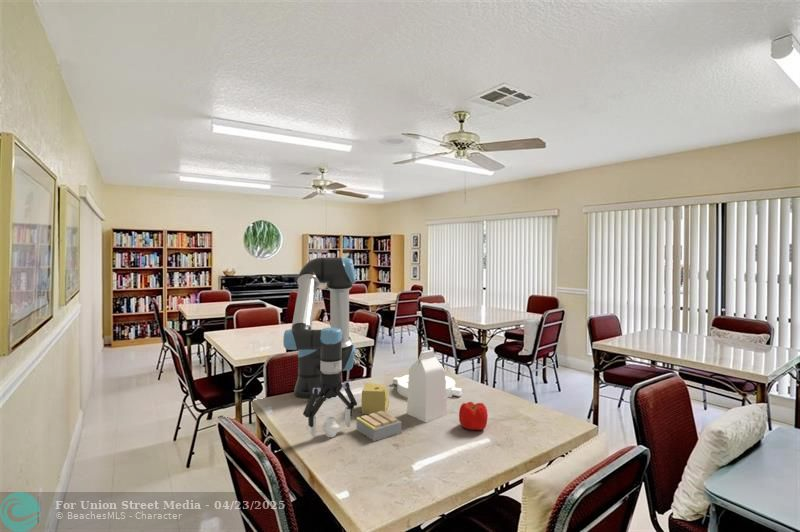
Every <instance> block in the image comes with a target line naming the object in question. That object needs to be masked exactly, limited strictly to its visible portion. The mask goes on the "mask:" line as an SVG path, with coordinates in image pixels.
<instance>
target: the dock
mask: <svg viewBox="0 0 800 532" xmlns="http://www.w3.org/2000/svg"><path fill="white" fill-rule="evenodd" d="M356 429H357V431H358V432H359V431H360V432H359V433H361V434H362V433H363V434H362V435H364V436H365V435H366V436H367V437H366V436H365V437H366V438H368V437H369V438H370V439H369V438H368V439H369V440H371V439H372V440H373V442H377V441H379V439H380V440H384V439H386V437H387V438H389V436H390V437H392V436H396V435H399V434H402V421H401V420H399V419H398V418H395V416H392V415H391V414H389V413H387V412H386V413H385V412H383V411H379V412H377V414H375V413H372V414H363V415H362V416H357V417H356ZM383 438H384V439H383ZM372 440H371V441H372ZM376 440H377V441H376Z"/></svg>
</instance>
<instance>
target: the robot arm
mask: <svg viewBox="0 0 800 532" xmlns="http://www.w3.org/2000/svg"><path fill="white" fill-rule="evenodd" d="M355 274H356V272H355V266H354V262H353V260H352V258H350V257H316V258H313V259H311V260H309V261H308V262H307V263H306V264H305V265H303V267H302V268H301V270H300V271H299V274H298V277H297V281H296V283H297V285H298V289H297V293H296V294H297V295H296V299H295V305H294V306H295V307H294V312H293V319H292V323H291V328H290V329H286V330H285V331H284V332H283V339H282V341H283V347H284V349H285V350H291V351H298V353H297V361H298V362H297V366H298V367H297V380H296V382H295V386H294V390H293V391H294V396H296V397H298V398H302V399H308V400H307V403H306V405H305V408H304V410H303V413H302V415H303V416H304V417H305V418H308V419H307V420H308V424H307V425H308V426H309V427H310V435H311V436H312V437H313V438H315V437H317V417H316V415H317V413H318V411H319V410H320V408H321V406H322V405H323V404H324V402H325V401H327V399H328V400H330V399H333V398H337V397H338V398H339V399H340V401H342V402H343V404H344V405H345V406H346V407H344V426H346V427H348V428H351V417H353V410H354V409H355V407H356V406H357V405H358V402H357V400H356V398H355V396H354V394H353V392H352V390H351V388H350V387H351V386H350V382H348V381H346V380H344V381H343V382H342V380H343V379H342V377H343V376H342V375H343V373H342V372H344V371H350V370H352V369H353V367H354V363H355V362H354V361H355V355H356V345H354V344H353V341H352V340H351V339H350V290H351V289H352V288H353V284H355V283H356V275H355ZM320 284H326V288H327V289H328V290H329V292H330V294H329V298H330V299H329V300H330V302H329V303H330V304H329V306H330V309H329V310H330V313H329V314H330V327H325V328H322V329H312V327H313V320H314V319H313V318H314V312H315V311H314V310H315V305H316V304H315V303H316V295H317V288H318V287H319V286H320ZM342 389H344V391H345V394H346V395H347V397H348V399H349V400H348V399H347V397H345V396H344V394H343V393H342V392H341V390H342Z"/></svg>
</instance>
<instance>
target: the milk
mask: <svg viewBox="0 0 800 532" xmlns="http://www.w3.org/2000/svg"><path fill="white" fill-rule="evenodd" d="M408 375H409V380H408V398H407V400H406V401H407V402H406V415H409V416H411V417H413V418H415V419H418V420H419V421H422V422H424V423H429V422H431V421H434V420H438V419H440V418H443V417H445V416H448V409H447V408H448V405H447V398H446V382H445V376H446V371H445V368H444V366H443V365H442V364H441V363H440V361H439V360H438V358H437V357H436V354H435V351H434V350H433V349H430V350H429V349H428V350H425V351H421V352H420V354H419V357H418V359H417V360H416V361H415V362H414V363H412V365H411V366H410V368H409V369H408Z"/></svg>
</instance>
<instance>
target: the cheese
mask: <svg viewBox="0 0 800 532" xmlns="http://www.w3.org/2000/svg"><path fill="white" fill-rule="evenodd" d="M389 404H390V399H389V389H388V386H385V385H384V384H380V383H375V382H374V383H373V382H366V383H365V384H364V386H363V389H362V391H361V414H362V415H369V414H372V413H375V414H377V412H379V411H383V412H385V413H387V409H388V408H389Z"/></svg>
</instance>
